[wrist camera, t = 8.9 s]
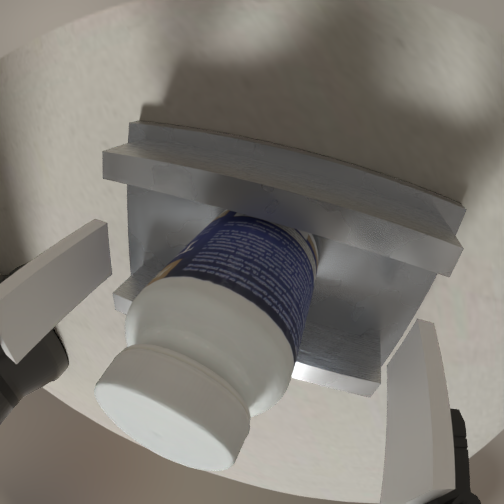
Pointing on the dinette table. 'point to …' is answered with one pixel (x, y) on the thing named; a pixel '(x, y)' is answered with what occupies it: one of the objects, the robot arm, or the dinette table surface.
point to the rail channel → (298, 217)
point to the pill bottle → (212, 341)
